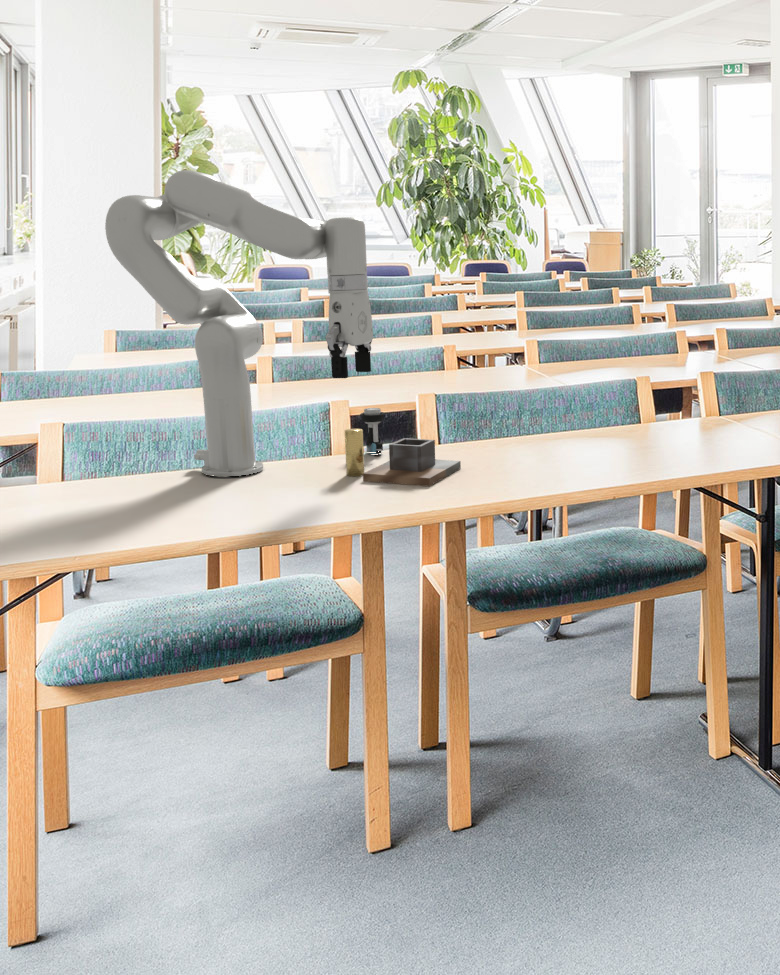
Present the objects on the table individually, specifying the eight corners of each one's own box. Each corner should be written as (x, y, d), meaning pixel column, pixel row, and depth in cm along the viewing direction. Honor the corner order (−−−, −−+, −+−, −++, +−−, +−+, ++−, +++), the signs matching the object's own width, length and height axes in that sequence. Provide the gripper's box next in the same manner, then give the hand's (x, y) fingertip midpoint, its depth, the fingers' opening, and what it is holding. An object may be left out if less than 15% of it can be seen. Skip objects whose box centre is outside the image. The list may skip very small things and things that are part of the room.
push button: (392, 455, 203) (390, 410, 201) (369, 458, 201) (367, 412, 199) (380, 450, 209) (379, 406, 207) (358, 453, 207) (356, 408, 205)
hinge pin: (343, 476, 186) (341, 431, 184) (351, 472, 189) (349, 428, 187) (359, 477, 184) (357, 432, 182) (367, 473, 187) (365, 429, 185)
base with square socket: (363, 480, 181) (361, 448, 179) (397, 464, 195) (396, 433, 193) (429, 486, 175) (428, 452, 173) (460, 468, 189) (460, 436, 187)
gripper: (343, 286, 169) (348, 381, 173) (385, 282, 184) (388, 369, 188) (307, 287, 172) (313, 380, 176) (351, 283, 187) (355, 369, 191)
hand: (351, 374), depth 182 cm, fingers open, 9 cm apart
